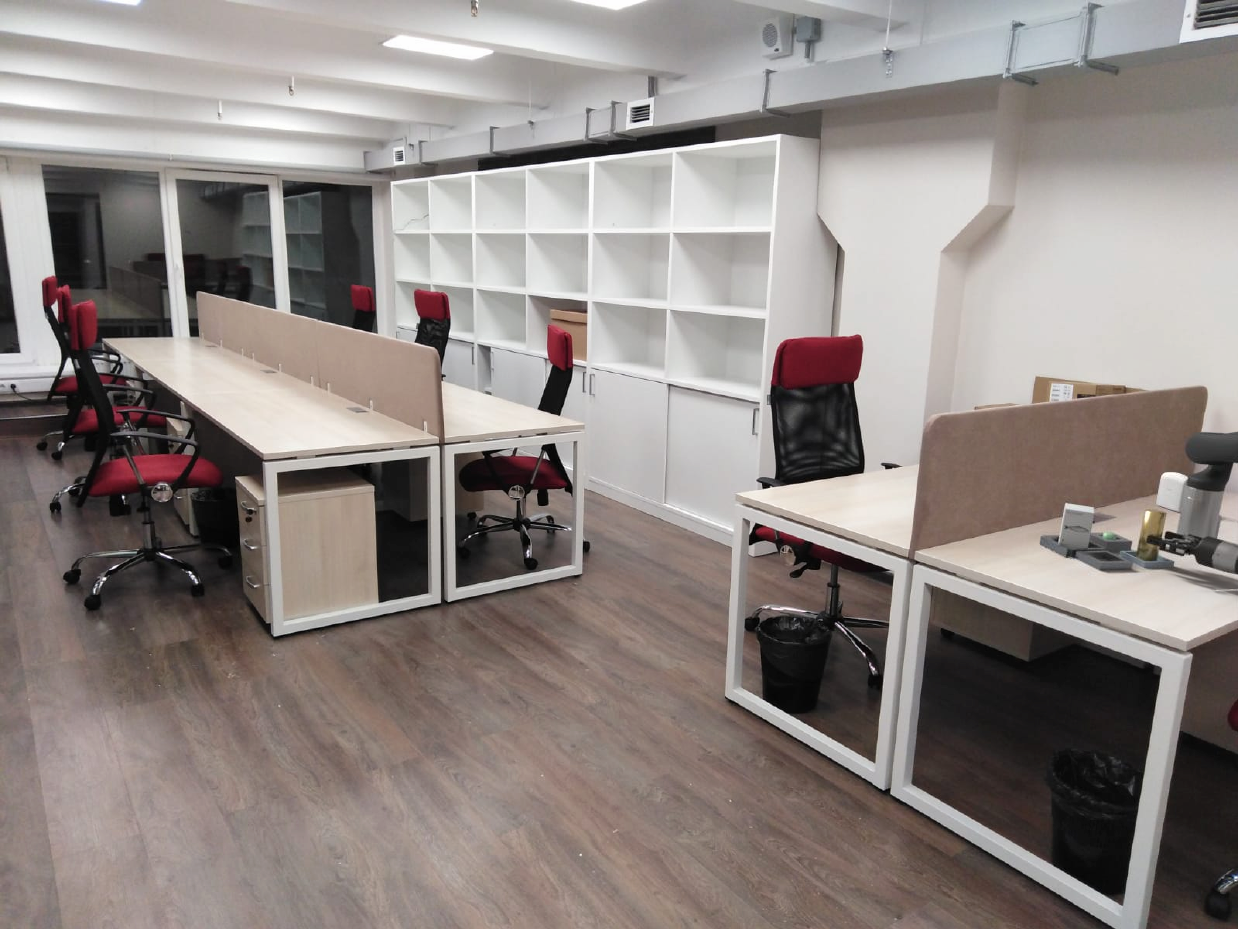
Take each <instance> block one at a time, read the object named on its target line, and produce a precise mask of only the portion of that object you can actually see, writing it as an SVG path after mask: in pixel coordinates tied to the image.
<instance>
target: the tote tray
mask: <svg viewBox="0 0 1238 929" xmlns="http://www.w3.org/2000/svg"><path fill="white" fill-rule="evenodd" d="M1136 553H1137V550H1131V551H1120V552H1119V554H1118V556H1120V557H1122V558H1124V559H1126V560H1129V561H1131V562H1133V564H1134V565H1137V566H1139V567H1141V568H1143V569H1151V568H1174V567H1175V561H1174V560H1172V559H1169V558H1167V557H1165V556H1162V555H1160V554H1158V559H1157V561H1143V560H1141V559H1139V558H1136Z"/></svg>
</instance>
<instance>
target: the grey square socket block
mask: <svg viewBox="0 0 1238 929" xmlns="http://www.w3.org/2000/svg"><path fill="white" fill-rule="evenodd" d="M1110 532H1111V531H1110ZM1111 533H1113V532H1111ZM1089 540H1090V541H1093V542H1095V543H1097V544H1099V545H1101V546H1103V547H1106V548H1107V551H1109V552H1111V553H1120V551H1132V545H1133V540H1131V539H1128V538H1125V537H1124V536H1121V535H1119V534H1117V538H1116V539H1106V538H1104V537H1103V532H1091V533H1090V539H1089Z"/></svg>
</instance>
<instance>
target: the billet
mask: <svg viewBox="0 0 1238 929" xmlns="http://www.w3.org/2000/svg"><path fill="white" fill-rule="evenodd" d="M1143 513H1144V514H1143V518H1142V523H1141V528H1140V533H1139V537H1138V544H1137V548H1136V551H1137V553H1136V558H1139V559H1141V560H1143V561H1157V559H1158V555H1160V550H1159V546H1156V545H1152V544H1149V543H1147V542H1146V541H1147V536H1148V535H1153V536H1156V537H1160V538H1163V534H1164V528H1165V524H1166V519H1167V512H1165V511H1162V510H1159V509H1151V508H1146V509H1144V512H1143Z"/></svg>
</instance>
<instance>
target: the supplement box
mask: <svg viewBox="0 0 1238 929" xmlns="http://www.w3.org/2000/svg"><path fill="white" fill-rule="evenodd" d="M1062 514H1063V516H1062V519H1061V524H1060V530H1059V535H1060V536H1059V541H1058V543H1060V544H1062V545H1064V546H1066V547H1068V548H1088V545H1089V539H1090V533H1092V528H1093V521H1094V517H1095V507H1093V506H1087V505H1081V504H1073V503H1068V502H1065V504H1064V508H1063V513H1062Z"/></svg>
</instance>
